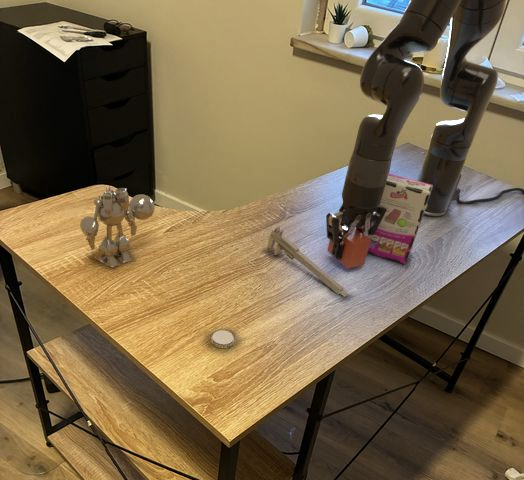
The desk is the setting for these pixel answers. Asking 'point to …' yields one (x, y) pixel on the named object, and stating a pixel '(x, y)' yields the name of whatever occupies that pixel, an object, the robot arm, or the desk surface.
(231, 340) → the ridged bottle cap
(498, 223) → the desk surface
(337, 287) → the caliper
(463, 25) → the robot arm
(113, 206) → the robot toy
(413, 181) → the candy bar box
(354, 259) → the block
